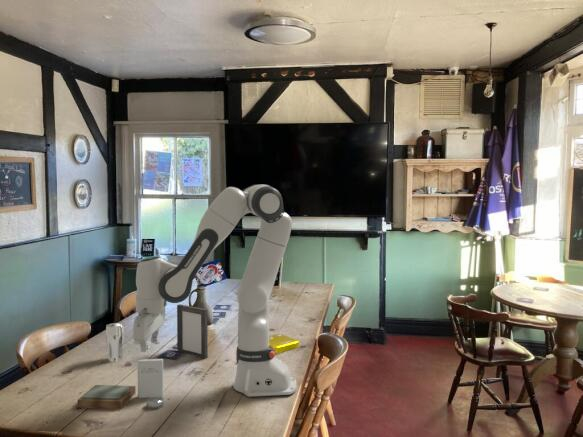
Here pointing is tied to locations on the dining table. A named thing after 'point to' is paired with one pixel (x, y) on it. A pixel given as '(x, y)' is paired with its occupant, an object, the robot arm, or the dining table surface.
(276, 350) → the element tile
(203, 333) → the picture frame
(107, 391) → the mirror
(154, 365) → the external hard drive
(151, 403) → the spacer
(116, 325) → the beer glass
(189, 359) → the dining table surface
